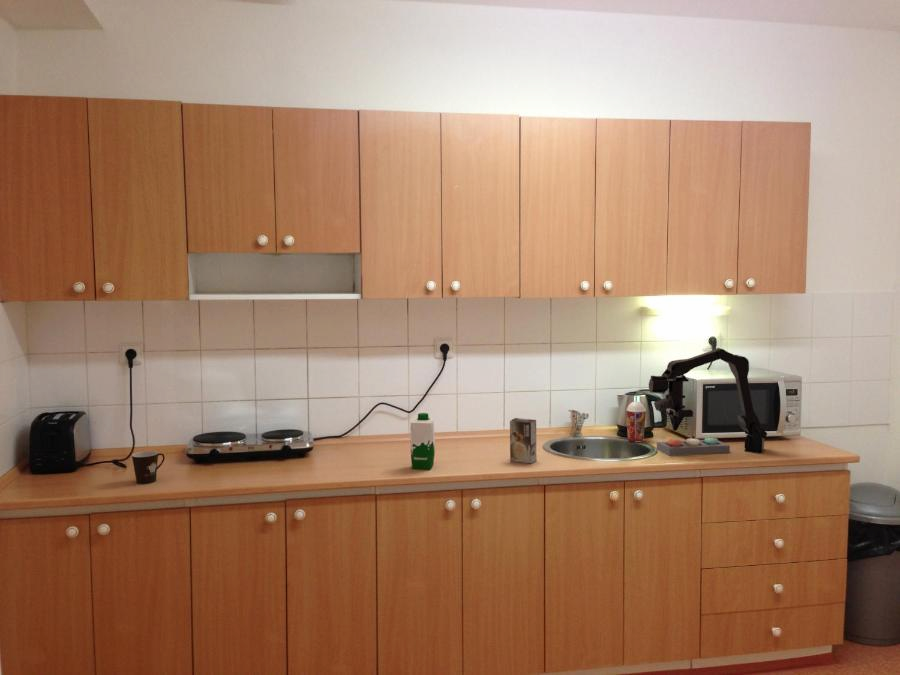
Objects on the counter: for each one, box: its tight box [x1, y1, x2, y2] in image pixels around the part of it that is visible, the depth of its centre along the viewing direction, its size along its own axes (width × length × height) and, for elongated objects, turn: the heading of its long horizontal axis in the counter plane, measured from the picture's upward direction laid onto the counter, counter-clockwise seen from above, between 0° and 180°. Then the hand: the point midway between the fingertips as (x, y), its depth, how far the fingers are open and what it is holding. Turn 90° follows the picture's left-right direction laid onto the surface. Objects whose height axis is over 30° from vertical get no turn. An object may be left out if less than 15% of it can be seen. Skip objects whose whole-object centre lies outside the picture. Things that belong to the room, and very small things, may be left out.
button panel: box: [656, 439, 731, 457], centre depth 288 cm, size 11×26×3 cm, turn 99°
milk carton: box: [409, 412, 436, 471], centre depth 266 cm, size 9×9×20 cm
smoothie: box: [625, 394, 647, 442], centre depth 305 cm, size 8×8×20 cm
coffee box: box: [509, 417, 538, 464], centre depth 274 cm, size 9×6×16 cm
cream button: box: [685, 438, 700, 446], centre depth 287 cm, size 5×5×2 cm
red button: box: [667, 438, 682, 447], centre depth 286 cm, size 5×5×2 cm
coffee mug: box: [131, 450, 166, 485], centre depth 251 cm, size 12×9×10 cm
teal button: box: [704, 437, 719, 445], centre depth 289 cm, size 5×5×2 cm
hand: (675, 430), depth 286 cm, fingers closed
